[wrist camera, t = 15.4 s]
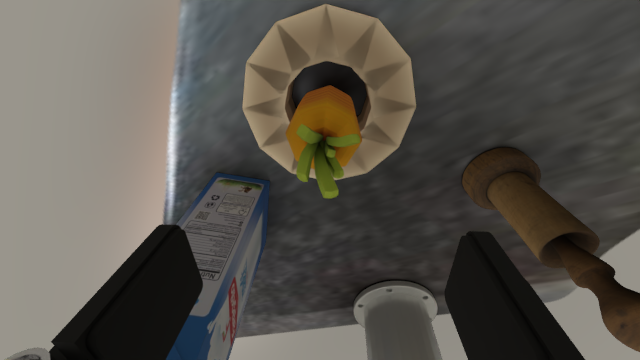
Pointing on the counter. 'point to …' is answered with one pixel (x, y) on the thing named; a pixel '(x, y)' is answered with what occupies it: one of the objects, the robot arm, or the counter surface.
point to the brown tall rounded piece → (552, 233)
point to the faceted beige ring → (339, 47)
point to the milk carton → (222, 262)
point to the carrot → (324, 136)
